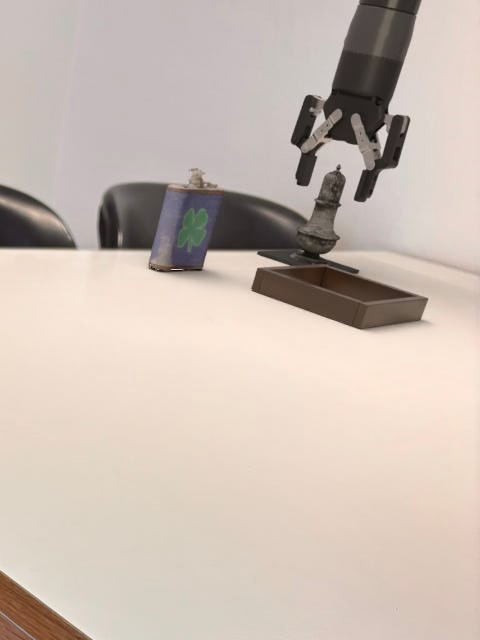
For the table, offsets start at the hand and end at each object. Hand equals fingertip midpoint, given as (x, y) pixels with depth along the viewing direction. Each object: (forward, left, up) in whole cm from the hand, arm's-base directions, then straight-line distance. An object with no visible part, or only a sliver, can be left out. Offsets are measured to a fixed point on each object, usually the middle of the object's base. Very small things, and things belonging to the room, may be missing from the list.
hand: (330, 193), depth 138 cm
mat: (0, 0, -9) cm, 9 cm away
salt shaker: (0, 0, -9) cm, 9 cm away
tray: (+19, +15, -9) cm, 26 cm away
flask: (+29, -1, -9) cm, 30 cm away
